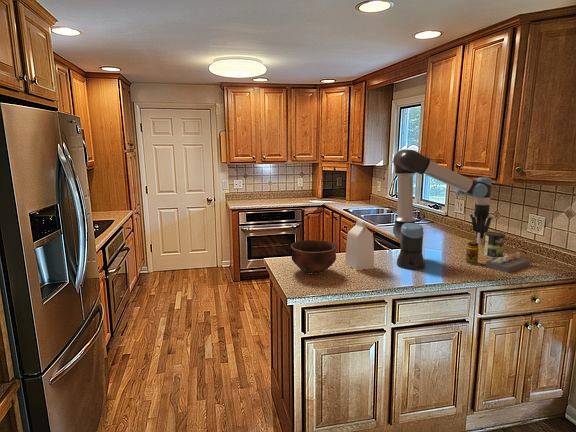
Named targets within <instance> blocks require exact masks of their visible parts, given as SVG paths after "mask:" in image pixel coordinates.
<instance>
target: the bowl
mask: <svg viewBox="0 0 576 432" xmlns="http://www.w3.org/2000/svg"><path fill="white" fill-rule="evenodd" d="M337 247H338V245H337V244H336V243H334V242H332V241H329V240H322V239H321V240H320V239H319V240H316V239H315V240H314V239H312V240H311V239H306V240H298V241H294V242H292V243H291V244H290V250H291V260H292V262H293V263H294V264H295V265H296V266H297V268H299V269H300V271H301V272H303V273H305V274H307V273H310V274H309V275H316V274H315V273H318V274H322V273H323V272H325V271H326V270H328V269H330V268H331V266H333V265H334V263H335V262H336V260H337V253H336V250H337ZM321 272H322V273H321ZM311 273H312V274H311Z"/></svg>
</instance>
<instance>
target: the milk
mask: <svg viewBox="0 0 576 432" xmlns="http://www.w3.org/2000/svg"><path fill="white" fill-rule="evenodd" d="M355 222H356V223H355V224H354V226H353V227H352V228H351V229H350V230H349V231H348V232H347V235H346V236H347V237H346V247H345V260H344V261H345V262H344V265H345V264H346V265H345V266H347V265H348V266H350V267H352V268H353V269H352V268H351V269H352V270H354V269H355V270H359V271H362V270H361V269H366V270H369V269H368V268H373V269H375V249H374V247H375V244H374V243H375V242H374V241H375V240H374V235H373V233H372V232H371V231H370V230H369V229H368V228H367V227H366V224H365V223H366V222H365V221H362V220H359V219H358V220H356V221H355ZM348 266H347V267H348ZM350 267H349V268H350ZM355 270H354V271H355Z"/></svg>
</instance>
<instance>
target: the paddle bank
mask: <svg viewBox="0 0 576 432" xmlns="http://www.w3.org/2000/svg"><path fill="white" fill-rule="evenodd" d="M507 255H509V256H507ZM503 256H504V257H503V258H502V257H499V258H498V259H497V263H498V264H501V263H503V262H507V261H510V260H514V259H516V258H520V256H521V253H520V252H518V251H516V252H514V253H510V254H506V255H503ZM514 256H515V257H514Z"/></svg>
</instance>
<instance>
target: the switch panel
mask: <svg viewBox="0 0 576 432" xmlns="http://www.w3.org/2000/svg"><path fill="white" fill-rule="evenodd" d="M506 255H507V256H509V254H506ZM504 256H505V255H503V257H504ZM503 257H502V258H503ZM514 257H515V255H514ZM497 259H498V258H497ZM497 259H496V258H492V259H491V260H488V261H485V265H484V267H485V268H489V269H492V270H495V271H499V272H503V273H506V274H508V273H512V272H514V271H516V270H519V269H522V268H526V267H528V265H529V266H531V262H532V260H531V259H529V258H524V257H520V258H516V259H514V260H510V261H507V262H503V263H501V264H498V263H497Z"/></svg>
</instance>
